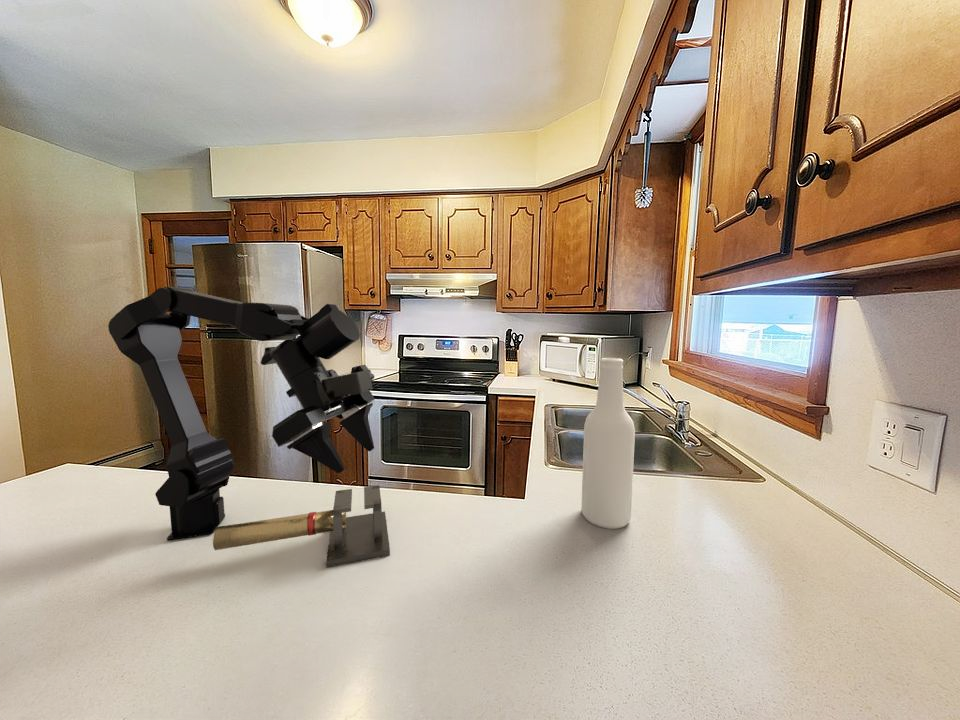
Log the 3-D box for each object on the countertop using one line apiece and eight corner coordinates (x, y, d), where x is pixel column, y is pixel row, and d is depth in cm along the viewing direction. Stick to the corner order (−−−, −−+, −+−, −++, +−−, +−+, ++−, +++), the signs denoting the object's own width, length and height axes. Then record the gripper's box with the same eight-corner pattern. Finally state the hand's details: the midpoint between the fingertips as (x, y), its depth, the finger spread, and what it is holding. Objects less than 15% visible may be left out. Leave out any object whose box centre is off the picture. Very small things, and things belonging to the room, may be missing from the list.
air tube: (213, 555, 52) (211, 533, 52) (222, 542, 55) (220, 521, 55) (345, 533, 57) (344, 513, 57) (346, 522, 61) (345, 503, 60)
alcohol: (624, 536, 61) (632, 362, 58) (574, 520, 66) (579, 359, 63) (635, 514, 68) (642, 358, 65) (589, 501, 73) (594, 355, 70)
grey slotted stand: (326, 567, 53) (324, 520, 52) (332, 524, 64) (330, 485, 63) (389, 555, 56) (389, 510, 55) (385, 516, 67) (384, 478, 66)
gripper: (305, 352, 45) (369, 457, 45) (374, 345, 64) (419, 420, 63) (243, 395, 47) (304, 496, 47) (327, 376, 66) (370, 449, 65)
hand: (357, 459), depth 56 cm, fingers open, 9 cm apart
